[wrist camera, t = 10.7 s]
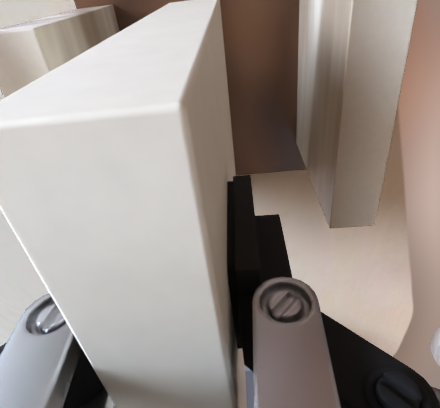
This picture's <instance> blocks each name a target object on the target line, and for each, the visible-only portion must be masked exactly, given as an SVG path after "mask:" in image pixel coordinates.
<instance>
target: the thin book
mask: <svg viewBox="0 0 440 408" xmlns="http://www.w3.org/2000/svg"><path fill="white" fill-rule="evenodd" d="M233 176H236V170H235V159H234V149H233V138H232V127H231V116H230V105H229V94H228V83H227V72H226V61H225V51H224V40H223V29H222V18H221V7H220V0H188V1H180V2H172V3H168V4H167V5H165V6H163V7H162V8H160V9H158V10H156V11H155V12H153V13H151V14H149V15H148V16H146V17H144V18H142V19H141V20H139V21H137V22H135V23H134V24H132V25H130V26H129V27H127V28H125V29H123V30H122V31H120V32H118V33H116V34H115V35H113V36H111V37H109V38H108V39H106V40H104V41H102V42H101V43H99V44H97V45H96V46H94V47H92V48H90V49H89V50H87V51H85V52H83V53H82V54H80V55H78V56H76V57H75V58H73V59H71V60H69V61H68V62H66V63H64V64H63V65H61V66H59V67H57V68H56V69H54V70H52V71H50V72H49V73H47V74H45V75H43V76H42V77H40V78H38V79H36V80H35V81H33V82H31V83H30V84H28V85H26V86H24V87H23V88H21V89H19V90H17V91H16V92H14V93H12V94H10V95H9V96H7V97H5V98H4V99H2V100H0V209H1V211H2V213H3V214H4V216H5V218H6V219H7V221H8V223H9V225H10V226H11V228H12V230H13V231H14V233H15V235H16V237H17V238H18V240H19V242H20V243H21V245H22V247H23V249H24V250H25V252H26V254H27V255H28V257H29V259H30V261H31V262H32V264H33V266H34V267H35V269H36V271H37V273H38V274H39V276H40V278H41V279H42V281H43V283H44V285H45V286H46V288H47V290H48V291H49V293H50V295H51V297H52V298H53V300H54V302H55V304H56V305H57V307H58V309H59V310H60V312H61V314H62V316H63V317H64V319H65V321H66V322H67V324H68V326H69V328H70V329H71V331H72V333H73V334H74V336H75V338H76V340H77V341H78V343H79V345H80V346H81V348H82V350H83V352H84V353H85V355H86V357H87V358H88V360H89V362H90V364H91V365H92V367H93V369H94V370H95V372H96V374H97V376H98V377H99V379H100V381H101V382H102V384H103V386H104V388H105V389H106V391H107V393H108V394H109V396H110V398H111V400H112V401H113V403H114V405H115V406H116V408H247V401H246V378H245V365H244V359H243V351H242V349H238V348H237V342H236V334H235V327H234V319H233V312H232V304H231V297H230V289H229V282H228V271H227V182H228V181H233Z"/></svg>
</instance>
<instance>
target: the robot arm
mask: <svg viewBox="0 0 440 408" xmlns="http://www.w3.org/2000/svg"><path fill="white" fill-rule="evenodd" d="M227 271H228V282H229V289H230V297H231V304H232V312H233V319H234V327H235V334H236V342H237V348H238V349H242V351H243V359H244V365H246V366H247V367H248V368H249V369H250V370H251V371H252V372H253V375H254V408H440V390H439V389H436V388H433V387H431V386H430V385H429V384H428V383H427V381H426V380H425V379H424V378H423V377H422V376H420V375H419V374H418V373H416V372H415V371H414V370H413V369H411V368H409V367H408V366H406V365H405V364H403V363H402V362H400V361H398V360H397V359H395V358H394V357H392V356H390V355H389V354H387V353H386V352H384V351H382V350H381V349H379V348H378V347H376V346H374V345H373V344H371V343H370V342H368V341H367V340H365V339H363V338H362V337H360V336H359V335H357V334H355V333H354V332H352V331H351V330H349V329H347V328H346V327H344V326H343V325H341V324H339V323H338V322H336V321H335V320H333V319H331V318H330V317H328V316H327V315H325V314H324V313H322V312H321V311H320V307H319V302H318V299H317V296H316V294H315V292H314V291H313V290H312V289H311V288H310V286H308V285H307V284H305V283H304V282H302V281H300V280H297V279H294V278H292V274H291V269H290V265H289V260H288V255H287V250H286V245H285V241H284V236H283V231H282V226H281V221H280V217H279V214H276V215H263V216H255V214H254V205H253V195H252V186H251V177H250V175H244V176H233V181H228V182H227ZM0 408H114V403H113V401H112V400H111V398H110V396H109V394H108V393H107V391H106V389H105V388H104V386H103V384H102V382H101V381H100V379H99V377H98V376H97V374H96V372H95V370H94V369H93V367H92V365H91V364H90V362H89V360H88V358H87V357H86V355H85V353H84V352H83V350H82V348H81V346H80V345H79V343H78V341H77V340H76V338H75V336H74V334H73V333H72V331H71V329H70V328H69V326H68V324H67V322H66V321H65V319H64V317H63V316H62V314H61V312H60V310H59V309H58V307H57V305H56V304H55V302H54V300H53V298H52V297H51V295H50V293H49V294H46V295H44V296H42V297H41V298H39V299H38V300H36V301H34V302H33V303H32V304H31V305H30V306H29V307H28V308H27V309H26V310H25V312H24V313H23V315H22V316H21V318H20V320H19V321H18V323H17V325H16V327H15V329H14V331H13V332H12V334H11V336H10V338H9V340H8V342H7V343H5V344H4V345H2V346H1V347H0Z"/></svg>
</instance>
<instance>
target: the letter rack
mask: <svg viewBox="0 0 440 408" xmlns="http://www.w3.org/2000/svg"><path fill="white" fill-rule="evenodd" d="M180 1H188V0H74V2H75V5H76V8H77V9H76V10H72V11H68V12H64V13H60V14H56V15H52V16H48V17H45V18H41V19H37V20H33V21H29V22H25V23H21V24H17V25H14V26H10V27H6V28H2V29H0V89H1V91H2V93H3V95H4V98H5V97H7V96H9V95H10V94H12V93H14V92H16V91H17V90H19V89H21V88H23V87H24V86H26V85H28V84H30V83H31V82H33V81H35V80H36V79H38V78H40V77H42V76H43V75H45V74H47V73H49V72H50V71H52V70H54V69H56V68H57V67H59V66H61V65H63V64H64V63H66V62H68V61H69V60H71V59H73V58H75V57H76V56H78V55H80V54H82V53H83V52H85V51H87V50H89V49H90V48H92V47H94V46H96V45H97V44H99V43H101V42H102V41H104V40H106V39H108V38H109V37H111V36H113V35H115V34H116V33H118V32H120V31H122V30H123V29H125V28H127V27H129V26H130V25H132V24H134V23H135V22H137V21H139V20H141V19H142V18H144V17H146V16H148V15H149V14H151V13H153V12H155V11H156V10H158V9H160V8H162V7H163V6H165V5H167V4H168V3H172V2H180ZM417 3H418V0H220V7H221V18H222V29H223V40H224V51H225V61H226V72H227V83H228V94H229V105H230V116H231V127H232V138H233V149H234V159H235V170H236V175H243V174H255V173H267V172H280V171H292V170H304V169H307V171H308V174H309V177H310V179H311V182H312V184H313V187H314V189H315V192H316V194H317V197H318V200H319V202H320V205H321V207H322V210H323V212H324V215H325V217H326V220H327V223H328V225H329V228H343V227H357V226H372V225H375V221H376V216H377V211H378V206H379V200H380V195H381V190H382V185H383V180H384V174H385V169H386V164H387V159H388V154H389V149H390V143H391V138H392V133H393V128H394V123H395V117H396V112H397V107H398V102H399V96H400V92H401V86H402V81H403V76H404V71H405V65H406V60H407V55H408V50H409V45H410V40H411V34H412V29H413V24H414V19H415V14H416V9H417Z"/></svg>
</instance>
